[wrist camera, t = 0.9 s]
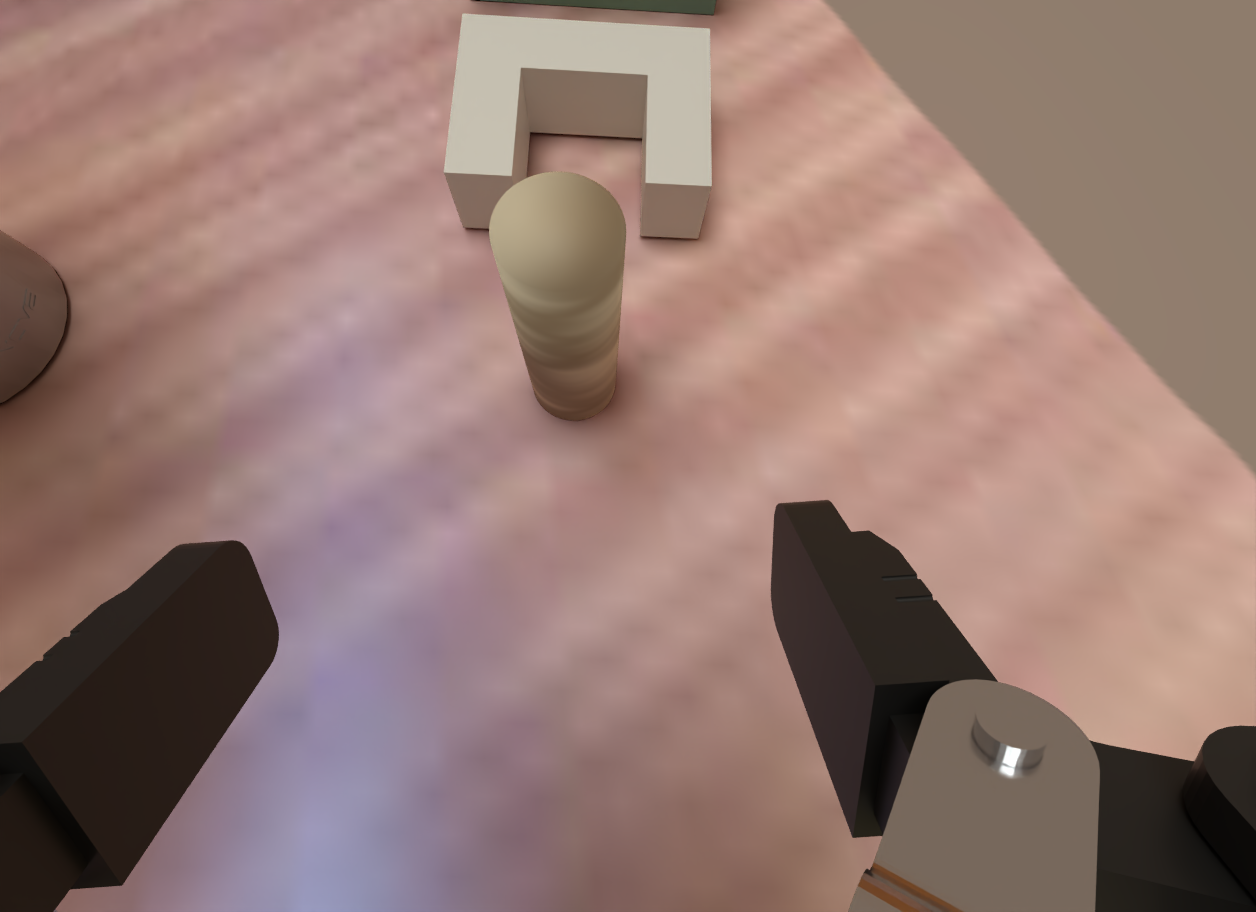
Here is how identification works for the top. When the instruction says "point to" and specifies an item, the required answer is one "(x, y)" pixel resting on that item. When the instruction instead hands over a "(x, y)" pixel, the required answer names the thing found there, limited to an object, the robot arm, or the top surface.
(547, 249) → the dowel
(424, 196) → the top surface
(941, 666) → the robot arm
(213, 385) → the top surface
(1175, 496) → the top surface
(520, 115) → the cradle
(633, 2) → the wall
